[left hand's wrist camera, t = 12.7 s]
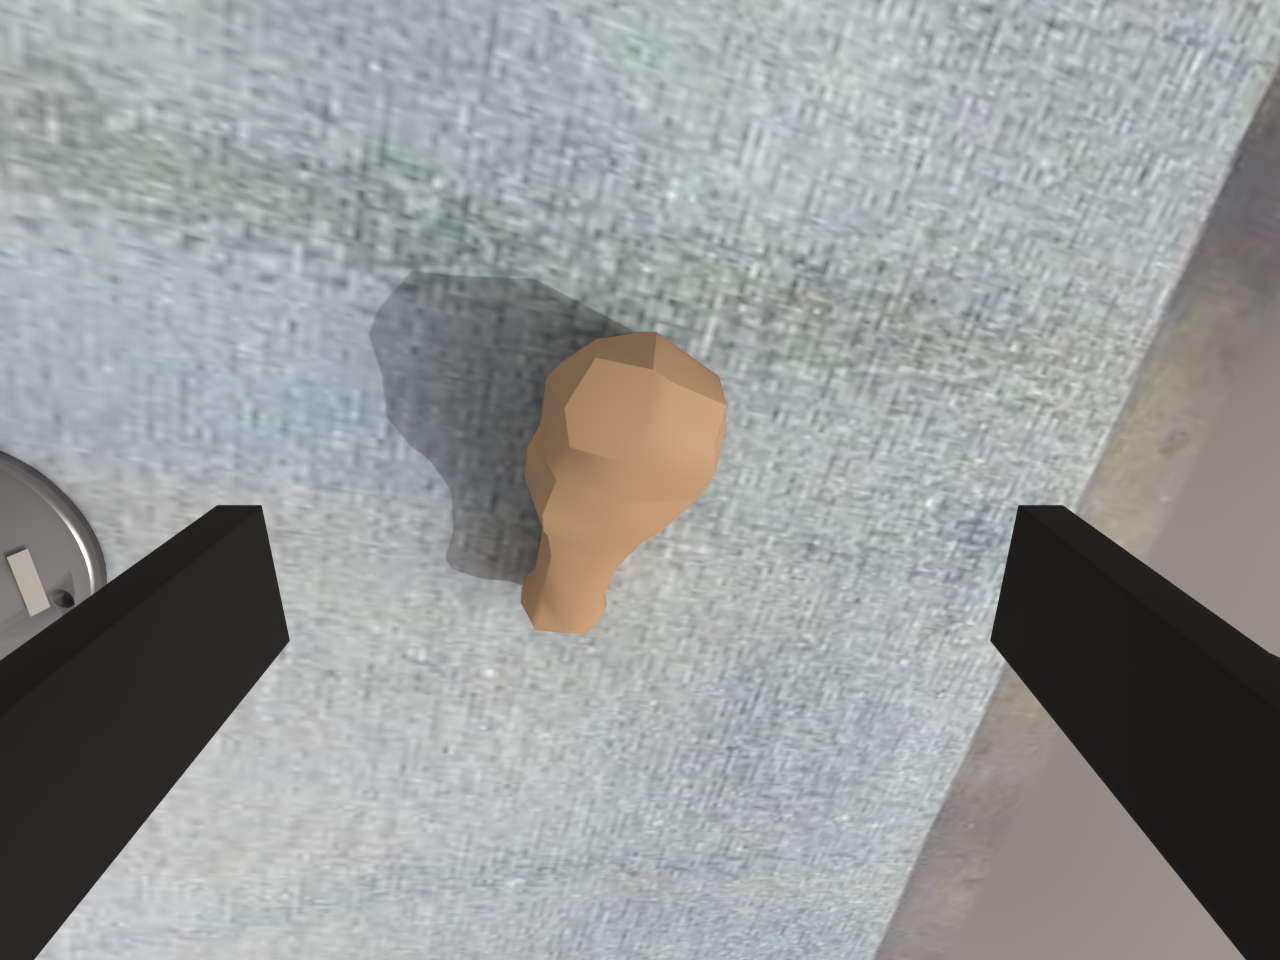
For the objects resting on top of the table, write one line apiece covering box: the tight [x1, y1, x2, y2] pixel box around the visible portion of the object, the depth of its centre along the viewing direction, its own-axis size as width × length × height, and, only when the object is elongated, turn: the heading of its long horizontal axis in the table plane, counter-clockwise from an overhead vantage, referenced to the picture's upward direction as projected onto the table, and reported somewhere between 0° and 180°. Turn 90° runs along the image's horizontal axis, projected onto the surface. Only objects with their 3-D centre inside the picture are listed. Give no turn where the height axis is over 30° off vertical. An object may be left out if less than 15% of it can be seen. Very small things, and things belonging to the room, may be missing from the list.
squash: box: [521, 332, 727, 634], centre depth 41 cm, size 11×20×9 cm, turn 164°
